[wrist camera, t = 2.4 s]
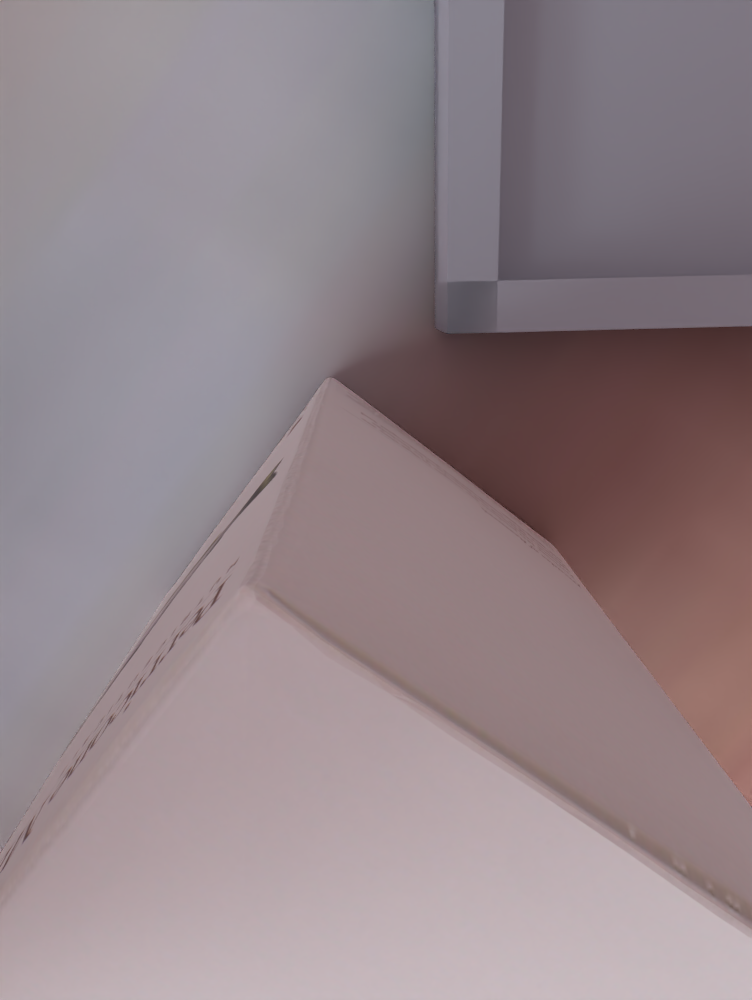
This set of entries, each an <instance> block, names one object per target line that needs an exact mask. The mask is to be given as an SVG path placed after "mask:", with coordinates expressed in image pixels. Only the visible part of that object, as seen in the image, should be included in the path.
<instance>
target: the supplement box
mask: <svg viewBox="0 0 752 1000" xmlns="http://www.w3.org/2000/svg"><path fill="white" fill-rule="evenodd" d="M0 1000H752V807H751V806H750V804H749V803H748V802H747V800H746V799H745V798H744V796H743V795H742V794H741V792H740V791H739V790H738V789H737V787H736V786H735V785H734V783H733V782H732V781H731V779H730V778H729V777H728V775H727V774H726V773H725V771H724V770H723V769H722V767H721V766H720V765H719V763H718V762H717V761H716V759H715V758H714V757H713V756H712V754H711V753H710V752H709V750H708V749H707V748H706V746H705V745H704V744H703V742H702V741H701V740H700V738H699V737H698V736H697V734H696V733H695V732H694V730H693V729H692V728H691V726H690V725H689V724H688V722H687V721H686V720H685V718H684V717H683V716H682V715H681V713H680V712H679V711H678V709H677V708H676V707H675V705H674V704H673V703H672V701H671V700H670V699H669V697H668V696H667V695H666V693H665V692H664V691H663V689H662V688H661V687H660V685H659V684H658V683H657V681H656V680H655V679H654V677H653V676H652V675H651V673H650V672H649V671H648V669H647V668H646V667H645V665H644V664H643V663H642V662H641V660H640V659H639V658H638V656H637V655H636V654H635V652H634V651H633V650H632V648H631V647H630V646H629V644H628V643H627V642H626V640H625V639H624V638H623V637H622V635H621V634H620V633H619V631H618V630H617V629H616V627H615V626H614V625H613V623H612V622H611V621H610V619H609V618H608V617H607V615H606V614H605V613H604V611H603V610H602V609H601V607H600V606H599V605H598V603H597V602H596V601H595V599H594V598H593V597H592V595H591V594H590V593H589V592H588V590H587V589H586V588H585V586H584V585H583V584H582V582H581V581H580V579H579V578H578V577H577V576H576V574H575V573H574V572H573V570H572V569H571V567H570V566H569V565H568V563H567V562H566V561H565V559H564V558H563V557H562V555H561V554H560V553H559V552H558V550H557V549H556V548H555V547H554V546H553V545H552V544H551V543H550V542H549V541H547V540H546V539H545V538H543V537H542V536H541V535H539V534H538V533H537V532H535V531H534V530H533V529H531V528H530V527H529V526H528V525H526V524H525V523H524V522H522V521H521V520H520V519H518V518H517V517H516V516H515V515H513V514H512V513H511V512H509V511H508V510H507V509H505V508H504V507H503V506H502V505H500V504H499V503H498V502H496V501H495V500H494V499H493V498H491V497H490V496H489V495H487V494H486V493H485V492H484V491H482V490H481V489H480V488H478V487H477V486H476V485H475V484H473V483H472V482H471V481H469V480H468V479H467V478H466V477H464V476H463V475H462V474H460V473H459V472H458V471H457V470H455V469H454V468H453V467H451V466H450V465H449V464H447V463H446V462H445V461H443V460H442V459H441V458H439V457H438V456H437V455H436V454H434V453H433V452H432V451H430V450H429V449H428V448H426V447H425V446H424V445H422V444H421V443H420V442H418V441H417V440H416V439H414V438H413V437H412V436H410V435H409V434H408V433H407V432H405V431H404V430H403V429H401V428H400V427H399V426H397V425H396V424H395V423H394V422H392V421H391V420H390V419H388V418H387V417H386V416H384V415H383V414H382V413H381V412H379V411H378V410H377V409H375V408H374V407H373V406H371V405H370V404H369V403H367V402H366V401H365V400H363V399H362V398H361V397H359V396H358V395H357V394H355V393H354V392H353V391H351V390H350V389H348V388H347V387H346V386H344V385H343V384H342V383H340V382H339V381H338V380H336V379H334V378H331V377H329V378H326V379H325V380H324V381H323V383H322V384H321V386H320V387H319V388H318V390H317V391H316V393H315V394H314V396H313V397H312V399H311V400H310V401H309V403H308V404H307V406H306V407H305V408H304V410H303V411H302V412H301V414H300V415H299V416H298V418H297V419H296V420H295V422H294V423H293V424H292V426H291V427H290V429H289V430H288V431H287V433H286V434H285V435H284V437H283V438H282V439H281V441H280V442H279V443H278V445H277V446H276V447H275V449H274V450H273V451H272V453H271V454H270V455H269V457H268V458H267V459H266V461H265V462H264V463H263V465H262V466H261V467H260V469H259V470H258V471H257V473H256V474H255V475H254V477H253V478H252V479H251V481H250V482H249V483H248V485H247V486H246V487H245V489H244V490H243V491H242V493H241V494H240V496H239V497H238V498H237V500H236V501H235V502H234V504H233V505H232V506H231V508H230V509H229V510H228V512H227V513H226V514H225V516H224V517H223V519H222V520H221V521H220V523H219V524H218V525H217V527H216V528H215V529H214V531H213V532H212V533H211V535H210V536H209V537H208V539H207V540H206V542H205V543H204V544H203V546H202V547H201V548H200V550H199V551H198V553H197V554H196V555H195V557H194V558H193V560H192V561H191V562H190V564H189V565H188V566H187V568H186V569H185V571H184V572H183V573H182V575H181V576H180V578H179V579H178V580H177V582H176V583H175V584H174V586H173V587H172V588H171V589H170V591H169V592H168V593H167V594H166V595H165V597H164V599H163V600H162V602H161V603H160V605H159V606H158V608H157V610H156V611H155V613H154V614H153V616H152V617H151V619H150V620H149V622H148V623H147V625H146V626H145V628H144V630H143V631H142V633H141V634H140V636H139V637H138V639H137V640H136V642H135V643H134V645H133V646H132V648H131V649H130V651H129V652H128V654H127V655H126V657H125V658H124V660H123V662H122V663H121V665H120V666H119V668H118V669H117V671H116V672H115V674H114V675H113V677H112V679H111V680H110V682H109V683H108V685H107V686H106V688H105V689H104V691H103V692H102V694H101V695H100V697H99V699H98V700H97V702H96V703H95V705H94V706H93V708H92V709H91V711H90V712H89V714H88V715H87V717H86V719H85V720H84V722H83V723H82V725H81V726H80V728H79V729H78V731H77V732H76V734H75V735H74V737H73V739H72V740H71V742H70V743H69V745H68V746H67V748H66V749H65V751H64V753H63V754H62V756H61V757H60V759H59V760H58V762H57V763H56V765H55V767H54V768H53V770H52V771H51V773H50V774H49V776H48V778H47V779H46V781H45V782H44V784H43V786H42V787H41V789H40V790H39V792H38V794H37V795H36V797H35V799H34V800H33V802H32V803H31V805H30V807H29V808H28V810H27V811H26V813H25V815H24V816H23V818H22V819H21V821H20V823H19V824H18V826H17V827H16V829H15V831H14V832H13V834H12V835H11V837H10V839H9V840H8V842H7V843H6V845H5V847H4V848H3V850H2V851H1V853H0Z"/></svg>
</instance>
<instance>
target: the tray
mask: <svg viewBox="0 0 752 1000" xmlns="http://www.w3.org/2000/svg"><path fill="white" fill-rule="evenodd" d="M734 326H752V0H435V328H436V329H438V330H440V331H442V332H444V333H447V334H459V333H498V332H538V331H577V330H616V329H656V328H695V327H734Z"/></svg>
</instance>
